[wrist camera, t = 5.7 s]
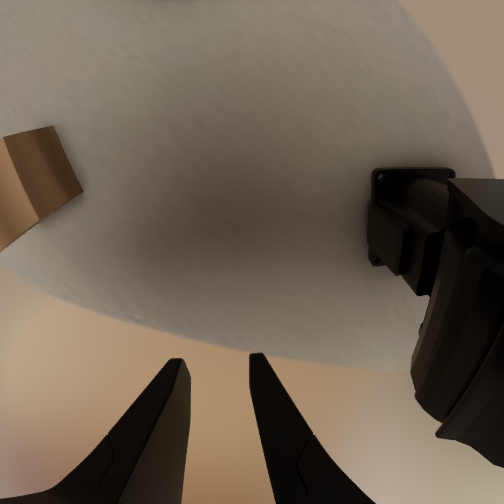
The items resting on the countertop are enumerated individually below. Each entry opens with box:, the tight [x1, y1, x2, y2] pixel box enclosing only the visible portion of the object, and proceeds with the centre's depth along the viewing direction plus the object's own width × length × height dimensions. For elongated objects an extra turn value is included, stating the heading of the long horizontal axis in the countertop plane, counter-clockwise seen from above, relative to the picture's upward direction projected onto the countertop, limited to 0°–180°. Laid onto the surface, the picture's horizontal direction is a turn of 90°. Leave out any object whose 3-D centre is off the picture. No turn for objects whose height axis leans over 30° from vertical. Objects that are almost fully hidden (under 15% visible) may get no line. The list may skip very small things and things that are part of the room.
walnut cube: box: [0, 126, 83, 252], centre depth 13 cm, size 5×5×5 cm
